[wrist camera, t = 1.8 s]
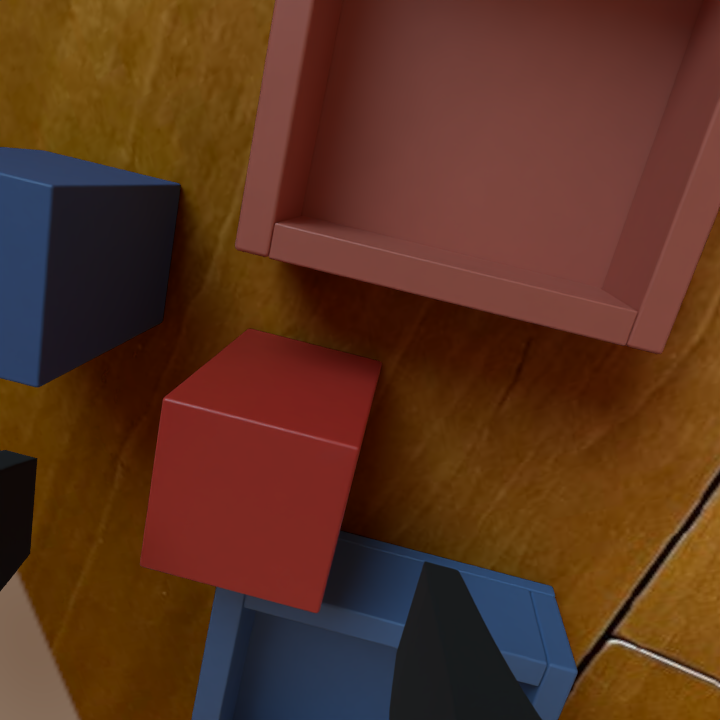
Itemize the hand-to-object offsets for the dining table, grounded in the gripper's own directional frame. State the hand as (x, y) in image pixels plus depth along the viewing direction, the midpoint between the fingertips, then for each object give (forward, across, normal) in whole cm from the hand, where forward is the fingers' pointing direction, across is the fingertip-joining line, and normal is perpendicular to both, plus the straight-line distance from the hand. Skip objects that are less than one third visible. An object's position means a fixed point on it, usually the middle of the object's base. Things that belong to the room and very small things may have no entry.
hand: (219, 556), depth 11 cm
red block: (+8, 0, 0) cm, 8 cm away
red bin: (+8, -3, -10) cm, 13 cm away
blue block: (+8, +6, -4) cm, 11 cm away
